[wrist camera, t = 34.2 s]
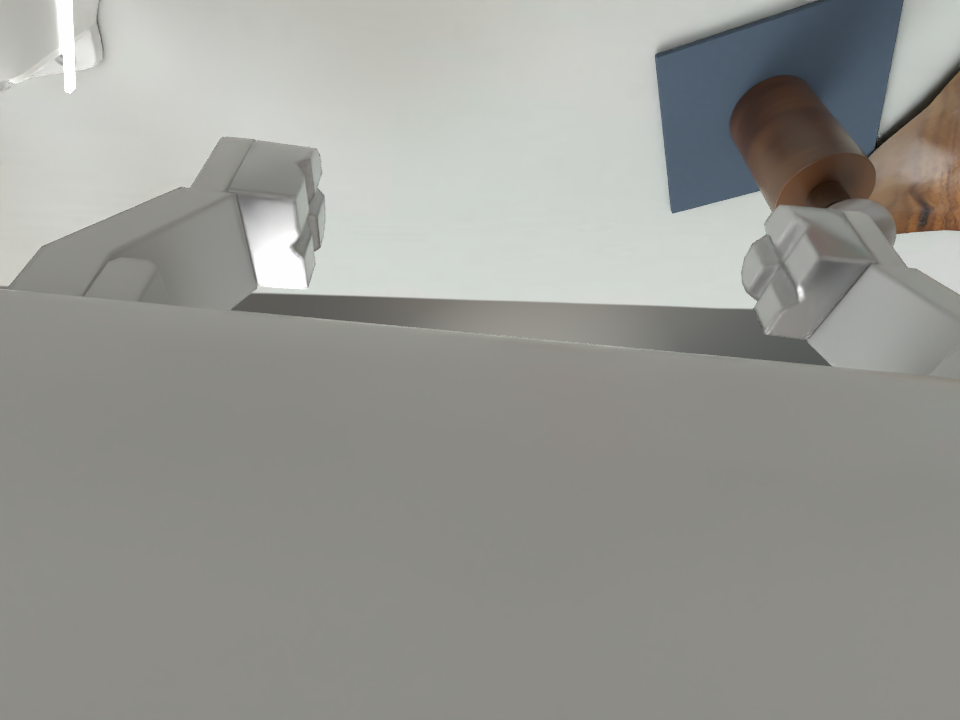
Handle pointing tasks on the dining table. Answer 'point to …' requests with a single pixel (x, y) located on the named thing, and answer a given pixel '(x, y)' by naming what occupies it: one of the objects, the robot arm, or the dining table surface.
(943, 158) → the cutting board
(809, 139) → the salt mill
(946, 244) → the dining table surface
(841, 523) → the robot arm
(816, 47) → the placemat
